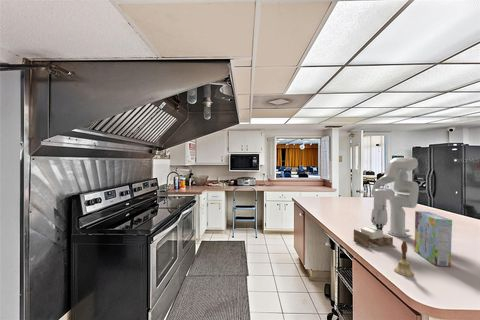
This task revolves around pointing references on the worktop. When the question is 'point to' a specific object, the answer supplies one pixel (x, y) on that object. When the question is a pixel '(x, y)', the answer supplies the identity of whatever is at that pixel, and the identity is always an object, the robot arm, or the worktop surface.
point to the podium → (372, 240)
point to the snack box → (433, 238)
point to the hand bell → (403, 263)
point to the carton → (372, 232)
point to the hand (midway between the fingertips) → (379, 233)
